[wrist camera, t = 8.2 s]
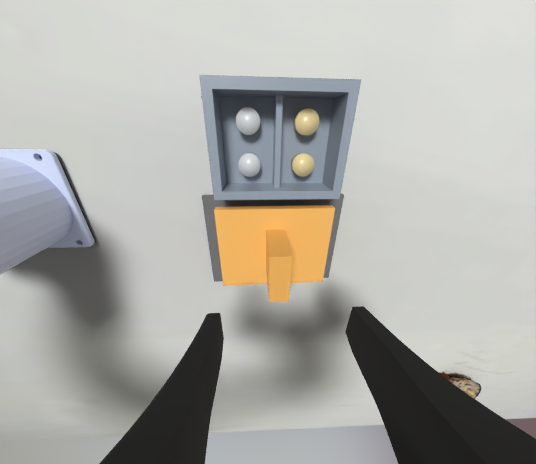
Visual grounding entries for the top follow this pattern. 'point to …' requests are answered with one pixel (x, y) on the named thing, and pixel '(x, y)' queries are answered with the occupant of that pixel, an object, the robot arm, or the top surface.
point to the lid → (273, 245)
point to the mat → (210, 205)
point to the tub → (278, 135)
